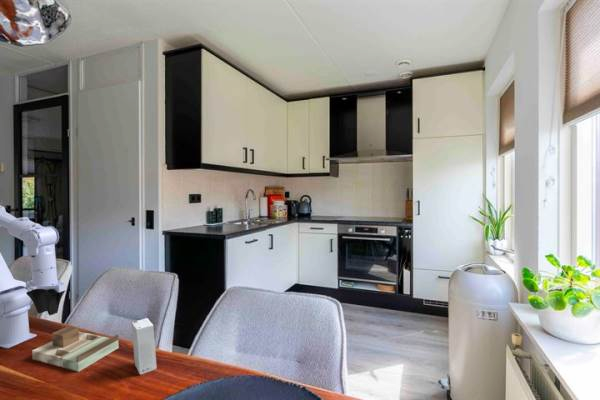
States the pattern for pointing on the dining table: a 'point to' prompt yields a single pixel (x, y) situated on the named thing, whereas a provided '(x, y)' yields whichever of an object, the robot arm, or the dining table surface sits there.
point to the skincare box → (144, 346)
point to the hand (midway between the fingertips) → (47, 313)
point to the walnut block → (65, 336)
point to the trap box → (77, 351)
